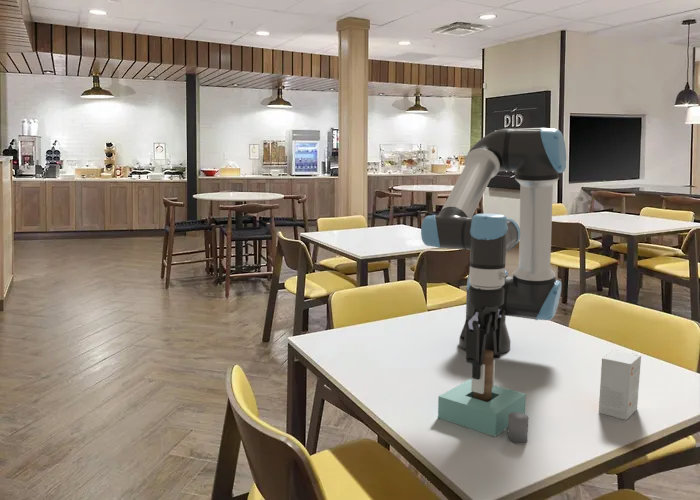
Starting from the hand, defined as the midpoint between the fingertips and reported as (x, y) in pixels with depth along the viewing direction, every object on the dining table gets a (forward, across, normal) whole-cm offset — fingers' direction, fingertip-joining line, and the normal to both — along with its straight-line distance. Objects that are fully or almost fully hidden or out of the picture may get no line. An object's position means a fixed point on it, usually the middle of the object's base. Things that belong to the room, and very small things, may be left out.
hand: (482, 388), depth 138 cm
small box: (+7, +23, -22) cm, 33 cm away
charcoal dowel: (+7, -5, -11) cm, 14 cm away
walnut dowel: (+5, 0, 0) cm, 5 cm away
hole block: (+6, 0, 0) cm, 6 cm away
